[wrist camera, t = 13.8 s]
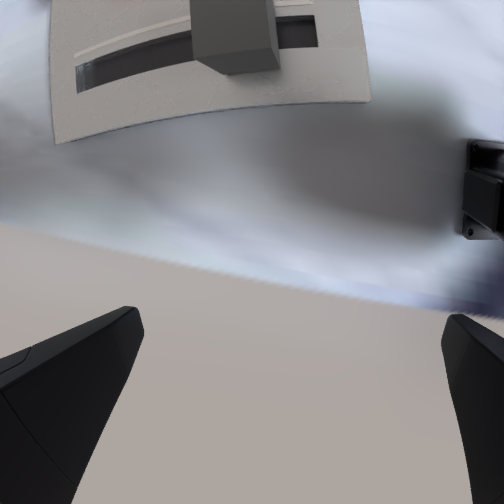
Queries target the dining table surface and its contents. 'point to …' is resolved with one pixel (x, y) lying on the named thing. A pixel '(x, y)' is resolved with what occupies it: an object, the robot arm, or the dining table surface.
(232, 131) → the dining table surface
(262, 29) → the black fader
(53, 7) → the panel
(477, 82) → the dining table surface
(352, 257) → the dining table surface
